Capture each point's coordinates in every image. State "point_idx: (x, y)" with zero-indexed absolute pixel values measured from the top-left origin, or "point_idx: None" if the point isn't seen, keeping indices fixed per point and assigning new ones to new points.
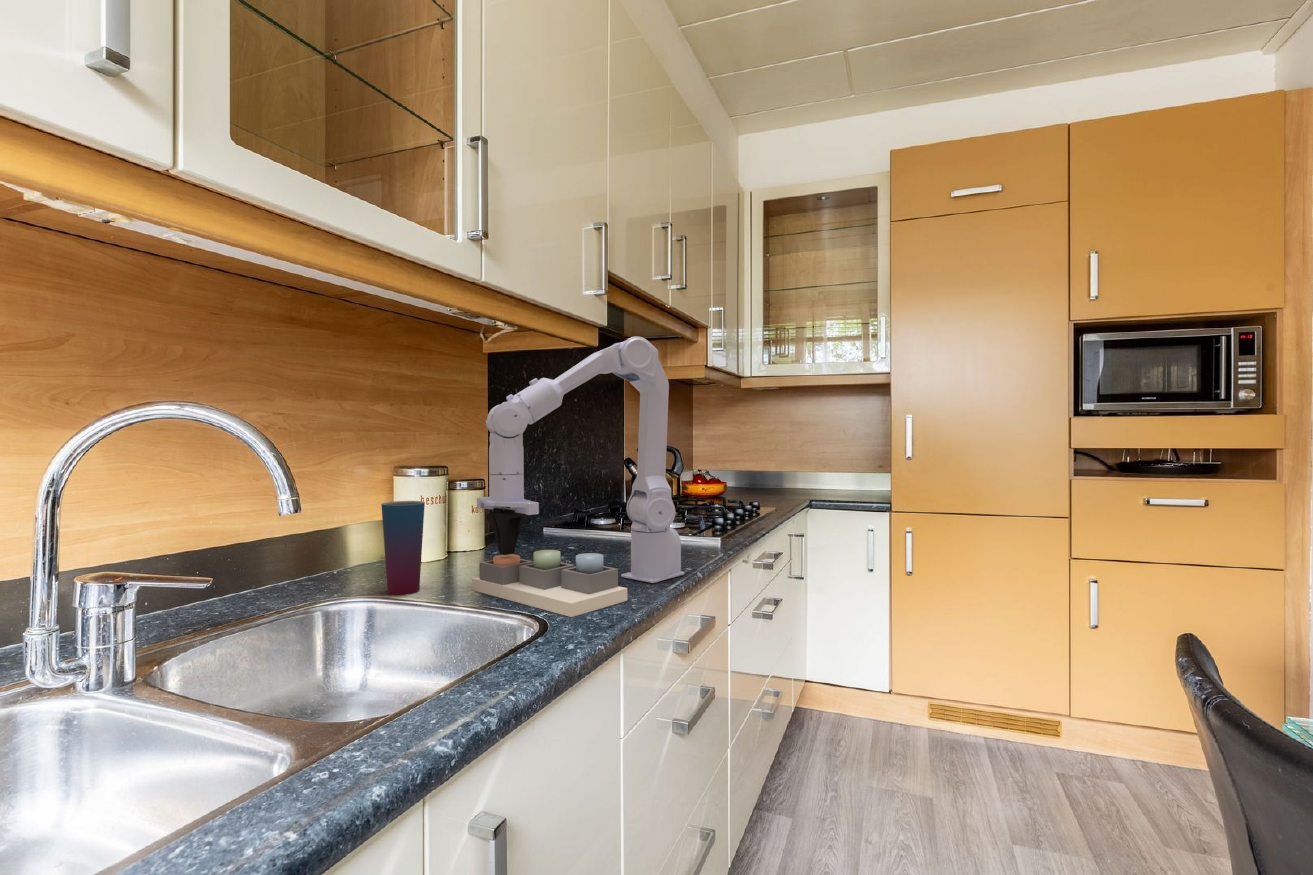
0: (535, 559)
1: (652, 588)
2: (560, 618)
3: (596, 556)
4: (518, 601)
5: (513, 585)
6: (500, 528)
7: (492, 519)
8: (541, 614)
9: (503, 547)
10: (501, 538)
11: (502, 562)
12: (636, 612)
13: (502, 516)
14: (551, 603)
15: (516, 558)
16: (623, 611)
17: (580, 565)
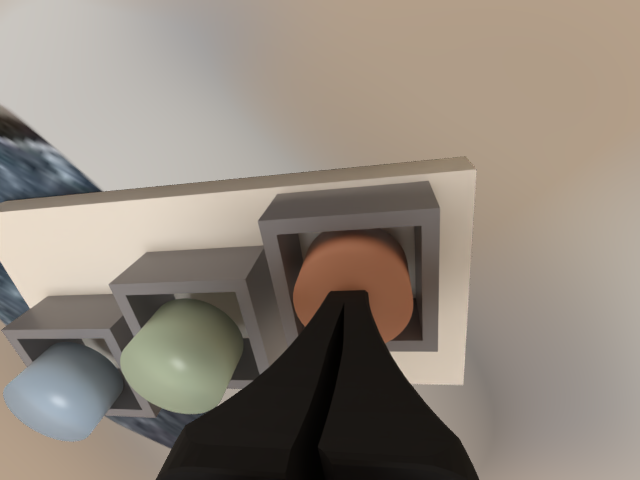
0: (172, 321)
1: (162, 433)
2: (6, 176)
3: (28, 414)
4: (200, 183)
5: (252, 218)
6: (288, 379)
7: (346, 426)
8: (58, 161)
9: (318, 309)
10: (315, 337)
11: (313, 256)
12: (4, 312)
13: (170, 458)
14: (52, 202)
15: (297, 312)
16: (19, 302)
17: (44, 359)
